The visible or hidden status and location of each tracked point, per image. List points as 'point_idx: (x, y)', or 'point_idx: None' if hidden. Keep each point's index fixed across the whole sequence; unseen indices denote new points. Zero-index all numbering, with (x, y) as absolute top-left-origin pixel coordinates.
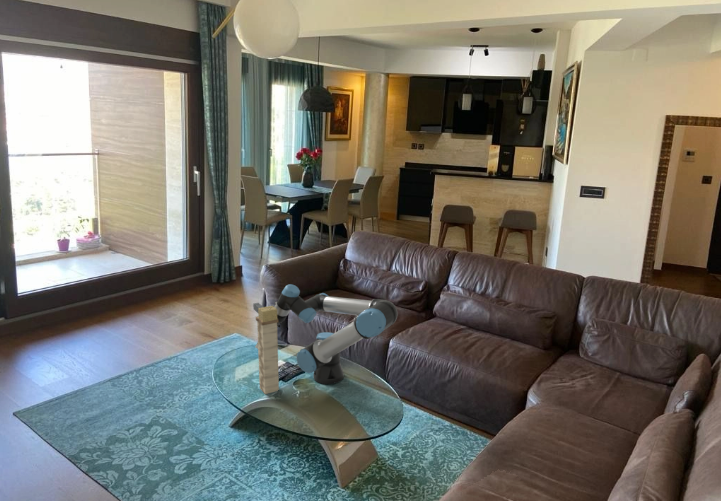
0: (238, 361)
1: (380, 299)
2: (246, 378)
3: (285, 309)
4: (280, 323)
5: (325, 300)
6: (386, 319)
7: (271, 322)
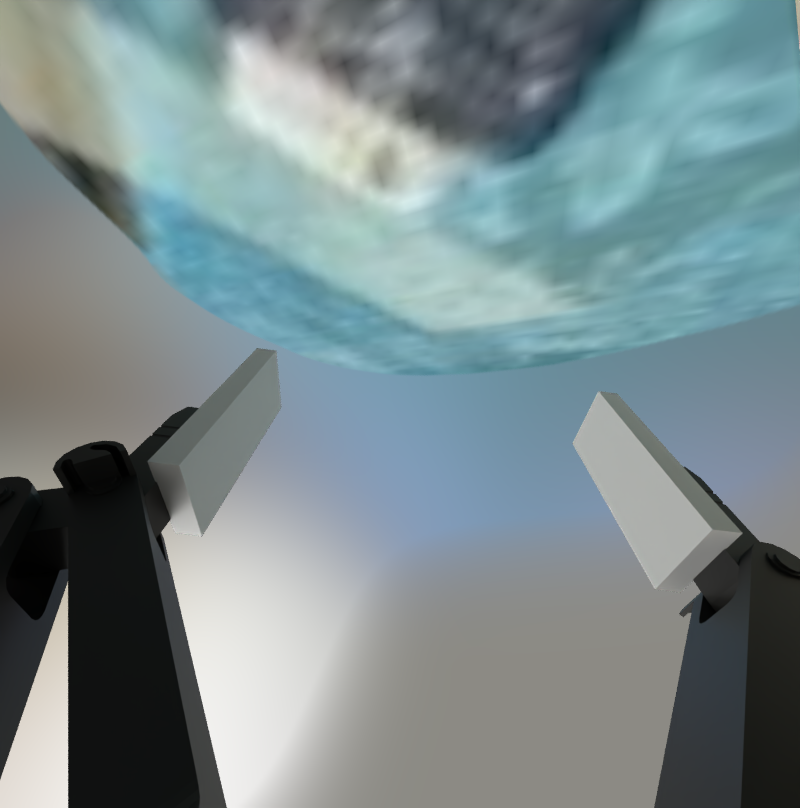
0: (372, 333)
1: None
2: (560, 265)
3: None
4: (8, 509)
5: None
6: None
7: None
